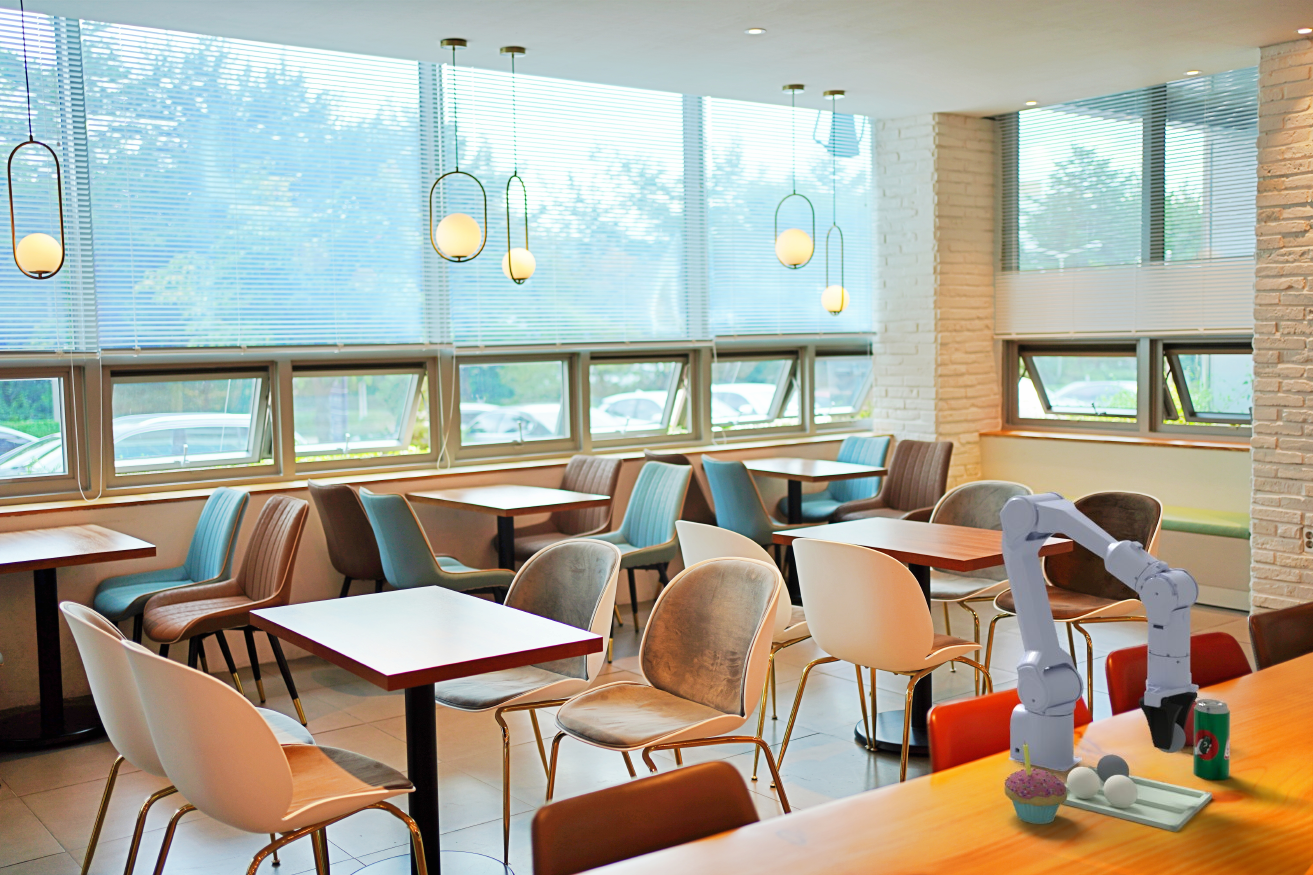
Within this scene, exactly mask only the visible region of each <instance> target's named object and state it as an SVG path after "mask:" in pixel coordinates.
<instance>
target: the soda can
mask: <svg viewBox="0 0 1313 875" xmlns="http://www.w3.org/2000/svg"><path fill="white" fill-rule="evenodd" d="M1196 702H1197V704H1196V706H1195V707H1194V745H1193V762H1192V763H1193V768H1192V770H1193V772H1192V773H1193V775H1194V776H1196V777H1197V778H1200V779H1202V780H1203V779H1204V780H1207V781H1212V782H1213V781H1214V782H1217V781H1218V782H1222V781H1227V780H1229V779H1230V760H1231V758H1230V752H1231V751H1230V750H1231V749H1230V748H1231V746H1230V745H1231V744H1230V743H1231V741H1230V740H1231V738H1230V737H1231V711H1230V709H1229V708H1228V703H1226V702H1225V701H1222V700H1219V699H1218V700H1217V699H1211V698H1210V699H1209V698H1205V699H1203V698H1202V699H1198V700H1196Z"/></svg>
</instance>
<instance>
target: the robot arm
mask: <svg viewBox="0 0 1313 875" xmlns="http://www.w3.org/2000/svg"><path fill="white" fill-rule="evenodd" d="M999 519H1000V523H1001V529H1002V533H1001V534H1002V535H1001V541H1000V542H1001V544H1000V545H1001V546H1000V547H1001V552H1002V558H1003V561H1004V566H1005V571H1006V574H1007V579H1008V582H1009V583H1008V584H1009V587H1010V592H1011V597H1012V600H1013V605H1014V609H1015V614H1016V617H1017V622H1018V627H1019V631H1020V635H1021V640H1022V644H1023V648H1024V649H1023V650H1024V654H1023V656H1022V657H1021V659H1020V660H1019V662H1018V664H1017V666H1016V670H1017V676H1018V677H1017V678H1018V679H1017V685H1016V691H1017V692H1016V693H1017V695H1018V698H1019V700H1020V702H1021V703H1018V704H1017V705H1016V706H1015V707H1014V708H1013V710H1012V714H1011V717H1010V725H1009V730H1010V735H1009V736H1010V740H1009V741H1010V742H1009V743H1010V749H1009V750H1010V752H1009V753H1010V754H1009V757H1008V758H1007V759H1008V760H1010V761H1015V762H1019V763H1024V764H1025V756H1024V748H1023V745H1025V744H1024V740H1025V742H1026V745H1028V750H1029V758H1030V765H1032V766H1037V767H1041V768H1046V769H1050V770H1054V771H1059V772H1066V771H1068V770H1070V769H1071V768H1072V767H1074V766H1075V765H1077V764H1078V763H1080V762H1081V761H1082V760H1083V759H1084V758H1082V757H1080V756H1075V755H1074V754H1075V753H1074V750H1075V749H1074V748H1075V747H1074V744H1075V743H1074V741H1075V740H1074V738H1075V736H1074V735H1075V734H1074V733H1075V732H1074V730H1075V728H1074V726H1075V724H1074V722H1075V721H1074V720H1075V719H1074V718H1075V716H1074V713H1075V712H1074V711H1075V709H1076V707H1077V706H1076V705H1077V704H1076V702H1078V701H1079V699H1081V697H1082V696H1083V694H1084V681H1083V678H1082V676H1081V674H1080V673H1079V671H1078V670H1077V668H1076V667H1075V664H1074V660H1073V657H1072V656H1071V655H1070V654H1069V653H1068V652H1066V651H1065V650H1064V649H1063V648H1062V647H1061V646H1060V643H1059V642H1060V641H1059V638H1058V633H1057V630H1056V625H1055V621H1054V620H1055V619H1054V617H1053V613H1052V608H1051V603H1050V600H1049V595H1048V592H1047V586H1046V584H1045V578H1044V575H1043V571H1042V566H1041V561H1040V556H1039V552H1040V550H1041V548H1042V547H1043V545H1044V544H1045V543H1046V541H1047V540H1048V539H1050V537H1052V536H1053V535H1055V534H1064V535H1065V536H1067V537H1068V538H1070V539H1072V540H1073V541H1075V542H1076V543H1078V544H1080V546H1082V547H1084V548H1085V549H1088V550H1089V551H1091V552H1092V553H1094V554H1095V555H1096V556H1099V557H1100V558H1101V559H1103V563H1104V568H1105V570H1106V571H1107V572H1108V573H1109V574H1111V575H1112V576H1114V577H1115V578H1116V579H1118V580H1119V581H1121V582H1122V583H1124V584H1125V585H1127V586H1128V587H1129V588H1130V589H1132V590H1133V591H1135V593H1137V594H1138V595H1139V599H1140V601H1141V603H1142V605H1143V606H1144V608H1145V610H1146V619H1147V679H1146V680H1145V688H1146V690H1145V691H1144V696H1142V697H1140V698H1139V699H1138V705H1139V707H1140V709H1141V710H1142V712H1143V714H1144V716H1145V718H1146V721H1148V722H1147V725H1148V724H1149V726H1148V729H1149V731H1150V736H1151V740H1152V744H1153V747H1154V748H1157V749H1158V748H1161V749H1166V750H1169V749H1170V747H1171V744H1172V740H1173V733H1174V726H1175V723H1176V724H1178V725H1179V726H1180V727H1181V728H1182V729H1183V731H1184V730H1185V726H1186V722H1187V718H1188V715H1189V712H1190V709H1191V707H1192V705H1193V703H1194V701H1197V697H1198V691H1199V687H1200V686H1199V685H1198V684H1194V683H1192V673H1191V617H1192V616H1191V610H1192V609H1191V606H1194V604H1195V603H1196V602H1197V601H1198V598H1199V594H1200V590H1199V589H1200V588H1199V585H1198V582H1197V580H1196V579H1195V577H1194V576H1193V575H1192V574H1191V573H1189V571H1188V570H1186V569H1184V568H1170V567H1169V563H1168V562H1166V561H1165V560H1161V561H1160V560H1159V559H1157V558H1156V557H1154V556H1153V555H1152V554H1150V553H1148V552H1147V551H1146V550H1144V549H1143V547H1144V545H1143V544H1142V543H1140V542H1139V541H1131V540H1121V541H1119V540H1116V539H1115V537H1113V536H1111V534H1109V533H1108V532H1107V531H1106V530H1104V529H1103V528H1101V527H1100V526H1099V525H1098V524H1096V523H1095V522H1094V521H1092V519H1090V518H1089V517H1088V516H1086V515H1085V514H1084V513H1082V512H1081V511H1080V510H1079V509H1077V507H1076V505H1075V503H1074V501H1072V500H1069V499H1067V498H1066V497H1064V495H1062V494H1060V493H1058V492H1056V491H1047V492H1045V493H1037V494H1035V493H1034V494H1028V495H1014V496H1012V497H1010V498H1009V499H1008V500H1007V501H1006V502H1005V504H1004V505H1003V507H1002V509H1001V510H1000V512H999Z"/></svg>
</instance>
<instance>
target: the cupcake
mask: <svg viewBox="0 0 1313 875" xmlns="http://www.w3.org/2000/svg"><path fill="white" fill-rule="evenodd" d="M1024 744H1025V745H1023V748H1024V756H1025V763H1024V764H1025V769H1024V768H1023V769H1020V770H1018V771H1015V772H1012V773H1011V774H1010V775H1009V776H1008V777H1006V779H1005V780H1004V794H1005V796H1006V797H1008V799H1009V800H1011V802H1012V804H1013V807H1014V810H1015V813H1016V817H1017V818H1018V819H1019V820H1022V821H1023V822H1027V823H1032V824H1042V825H1043V824H1050V823H1052V822H1053V821H1054V820H1055V816H1056V814H1057V812H1058V809H1059V807H1060V806H1061V805H1063V804H1062V803H1064V802H1065V800H1066V799H1067V792H1066V786H1065V785H1064V784H1065V783H1064V781H1062V780H1061V779H1060V778H1059V777H1058V776H1056V775H1055V774H1053V773H1052V772H1049V771H1047V770H1046V769H1042V770H1041V769H1039V768H1033V769H1032V768H1031V764H1030V758H1029V750H1028V745H1026V742H1025V740H1024Z"/></svg>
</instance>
